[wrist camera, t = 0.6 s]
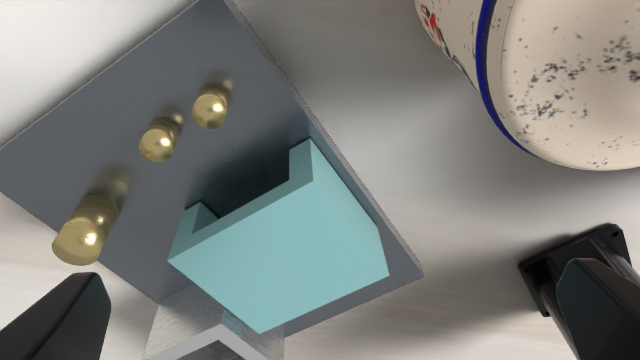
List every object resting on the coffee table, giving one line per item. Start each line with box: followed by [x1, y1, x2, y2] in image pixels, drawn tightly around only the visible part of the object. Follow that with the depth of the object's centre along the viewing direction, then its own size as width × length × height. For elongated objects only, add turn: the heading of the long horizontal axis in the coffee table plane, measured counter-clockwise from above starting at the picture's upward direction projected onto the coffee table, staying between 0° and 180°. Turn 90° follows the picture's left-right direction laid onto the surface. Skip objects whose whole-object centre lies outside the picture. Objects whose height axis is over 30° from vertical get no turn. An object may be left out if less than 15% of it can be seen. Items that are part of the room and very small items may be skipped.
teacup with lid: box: [414, 0, 640, 171], centre depth 13 cm, size 12×9×12 cm
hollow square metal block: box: [142, 284, 284, 360], centre depth 26 cm, size 6×6×4 cm
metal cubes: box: [0, 0, 424, 338], centre depth 23 cm, size 20×15×4 cm
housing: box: [167, 138, 390, 334], centre depth 22 cm, size 7×8×4 cm
